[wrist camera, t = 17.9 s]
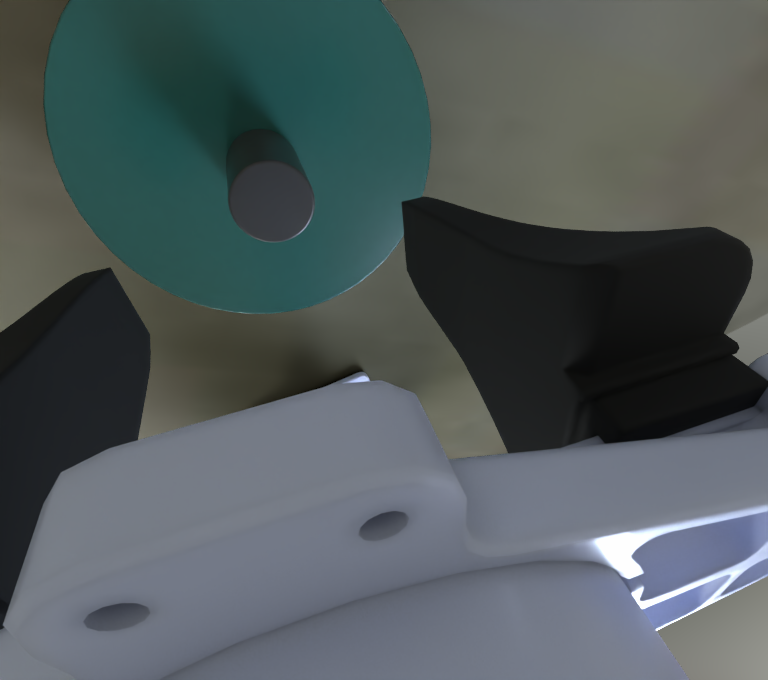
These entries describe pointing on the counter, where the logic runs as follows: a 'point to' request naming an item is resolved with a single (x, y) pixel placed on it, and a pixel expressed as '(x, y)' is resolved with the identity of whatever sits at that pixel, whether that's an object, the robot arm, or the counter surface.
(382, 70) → the tin lid
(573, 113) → the counter surface
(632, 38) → the counter surface
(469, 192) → the counter surface
